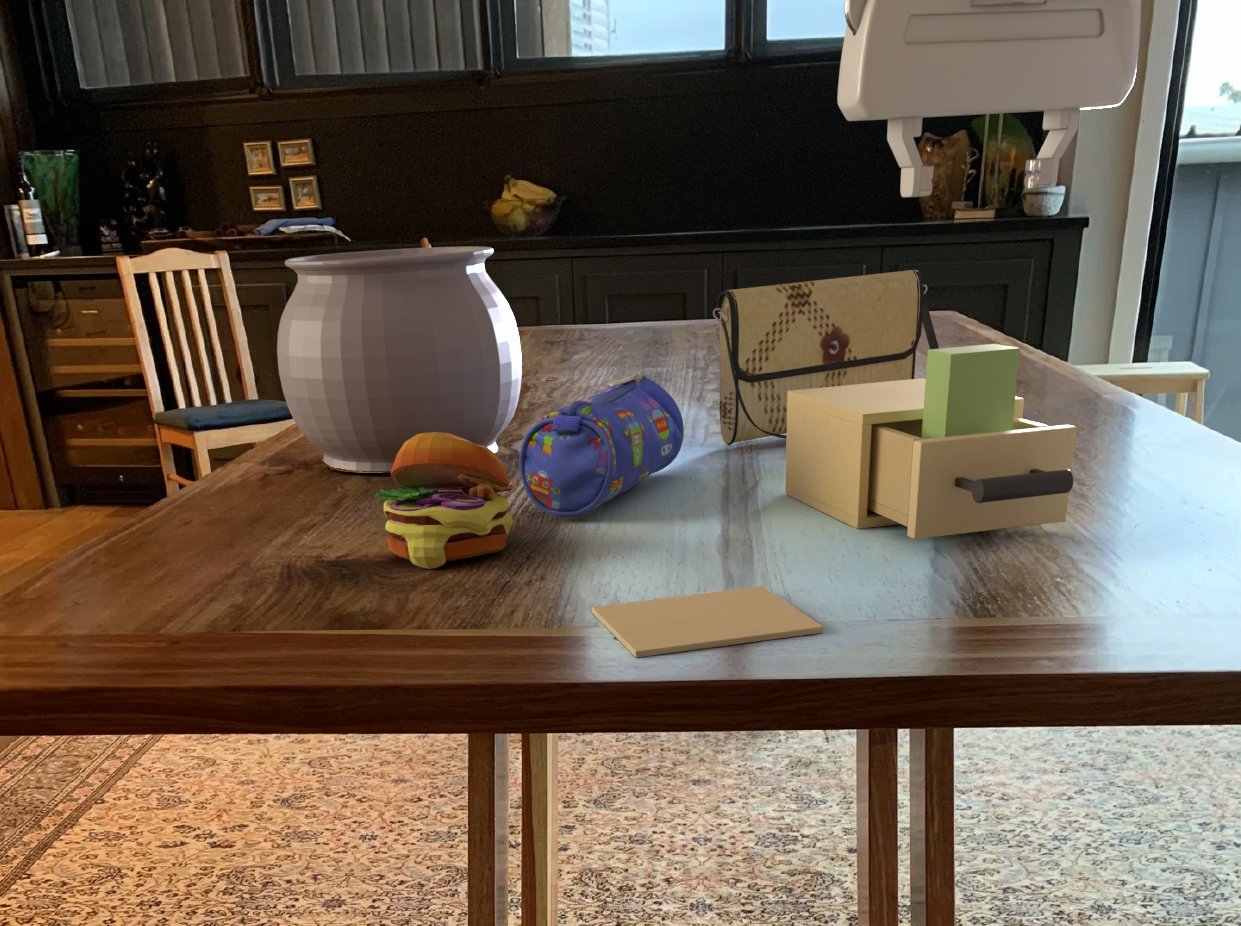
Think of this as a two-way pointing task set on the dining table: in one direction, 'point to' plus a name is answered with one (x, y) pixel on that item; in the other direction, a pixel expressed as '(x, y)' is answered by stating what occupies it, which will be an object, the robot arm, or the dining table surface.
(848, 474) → the cabinet
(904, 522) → the drawer
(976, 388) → the sage green upright pillar
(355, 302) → the grey round vase
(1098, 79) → the robot arm
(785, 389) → the woven shoulder bag
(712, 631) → the tan flat wooden board
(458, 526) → the cheeseburger
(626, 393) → the pencil case
